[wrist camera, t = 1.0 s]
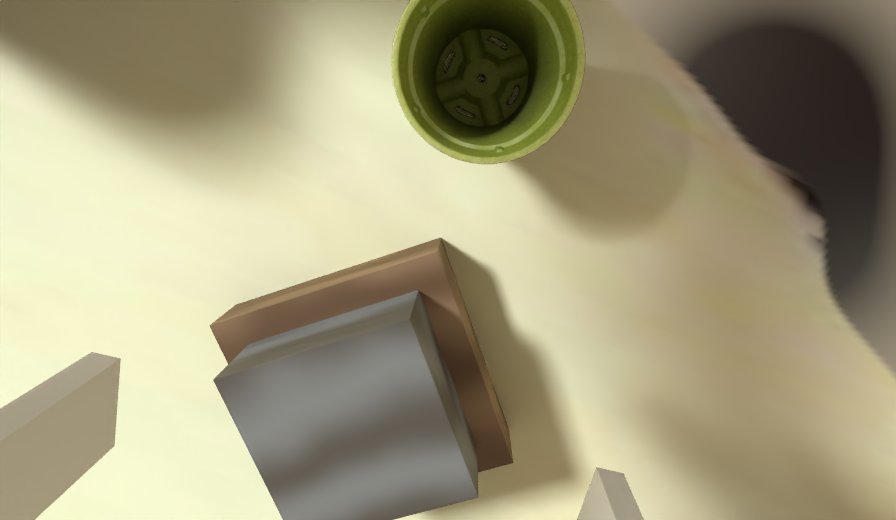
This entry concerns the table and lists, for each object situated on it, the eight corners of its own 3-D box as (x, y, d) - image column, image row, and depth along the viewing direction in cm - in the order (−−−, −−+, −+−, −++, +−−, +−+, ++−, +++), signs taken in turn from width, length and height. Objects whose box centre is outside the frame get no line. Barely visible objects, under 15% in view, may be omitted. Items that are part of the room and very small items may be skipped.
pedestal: (235, 304, 38) (166, 359, 29) (440, 237, 36) (432, 274, 27) (319, 482, 42) (279, 577, 33) (508, 429, 40) (520, 515, 31)
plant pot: (581, 39, 32) (621, 10, 24) (516, 176, 35) (531, 193, 26) (446, -27, 32) (438, -81, 23) (388, 118, 34) (362, 116, 26)
